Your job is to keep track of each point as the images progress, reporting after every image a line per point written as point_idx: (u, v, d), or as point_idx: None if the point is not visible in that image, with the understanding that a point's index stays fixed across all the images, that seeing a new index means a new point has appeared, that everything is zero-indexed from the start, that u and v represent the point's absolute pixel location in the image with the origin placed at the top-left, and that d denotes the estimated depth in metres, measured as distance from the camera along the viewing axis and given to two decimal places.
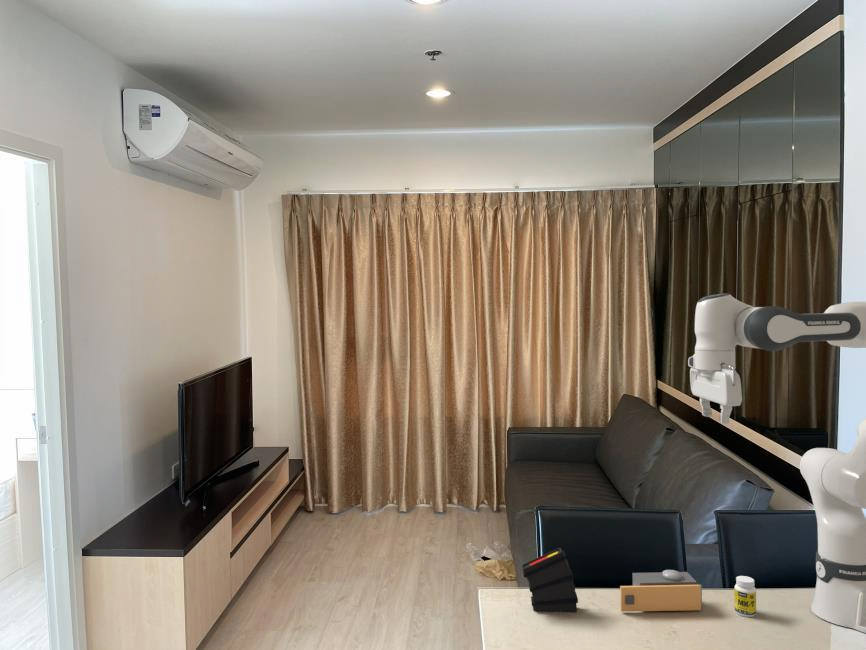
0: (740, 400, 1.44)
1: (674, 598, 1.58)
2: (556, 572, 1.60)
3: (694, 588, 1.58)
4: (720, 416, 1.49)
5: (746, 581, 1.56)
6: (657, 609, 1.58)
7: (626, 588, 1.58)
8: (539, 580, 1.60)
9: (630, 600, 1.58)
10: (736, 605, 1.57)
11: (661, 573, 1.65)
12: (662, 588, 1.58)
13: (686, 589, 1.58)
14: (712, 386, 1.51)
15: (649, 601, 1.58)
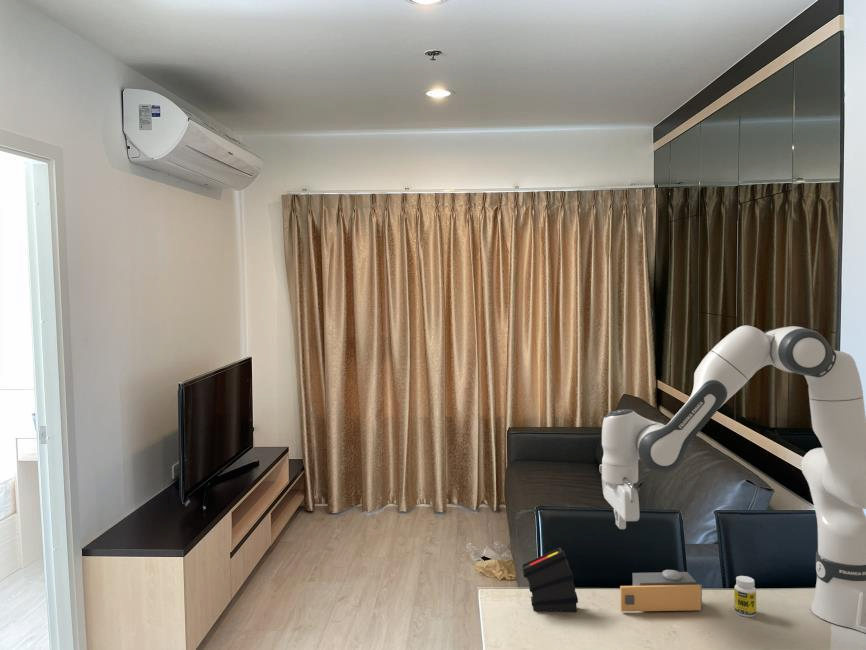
0: (638, 516, 1.54)
1: (674, 598, 1.58)
2: (556, 572, 1.60)
3: (694, 588, 1.58)
4: (618, 522, 1.64)
5: (746, 581, 1.56)
6: (657, 609, 1.58)
7: (626, 588, 1.58)
8: (539, 580, 1.60)
9: (630, 600, 1.58)
10: (736, 605, 1.57)
11: (661, 573, 1.65)
12: (662, 588, 1.58)
13: (686, 589, 1.58)
14: (616, 498, 1.62)
15: (649, 601, 1.58)
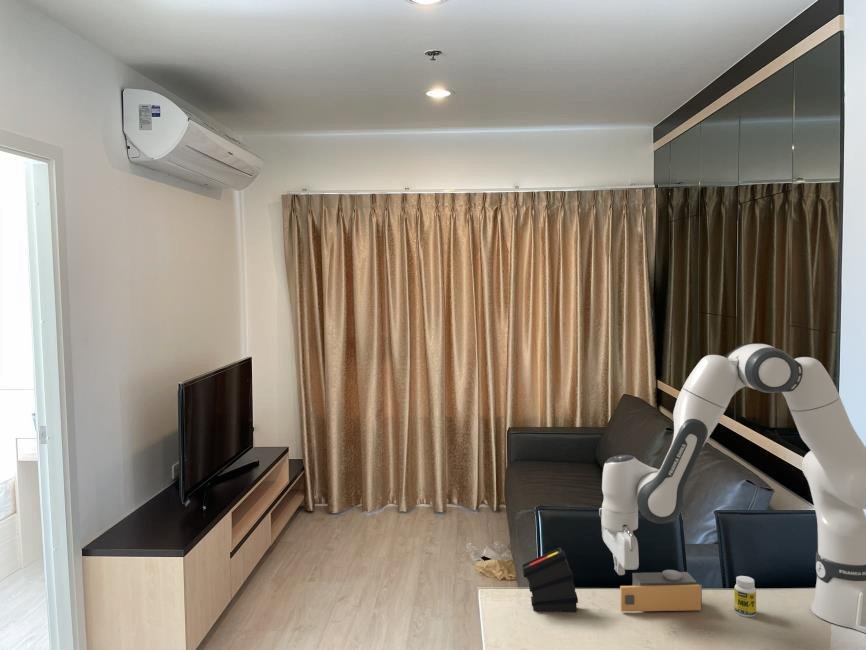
0: (637, 565, 1.55)
1: (674, 598, 1.58)
2: (556, 572, 1.60)
3: (694, 588, 1.58)
4: (617, 568, 1.64)
5: (746, 581, 1.56)
6: (657, 609, 1.58)
7: (626, 588, 1.58)
8: (539, 580, 1.60)
9: (630, 600, 1.58)
10: (736, 605, 1.57)
11: (661, 573, 1.65)
12: (662, 588, 1.58)
13: (686, 589, 1.58)
14: (615, 544, 1.62)
15: (649, 601, 1.58)
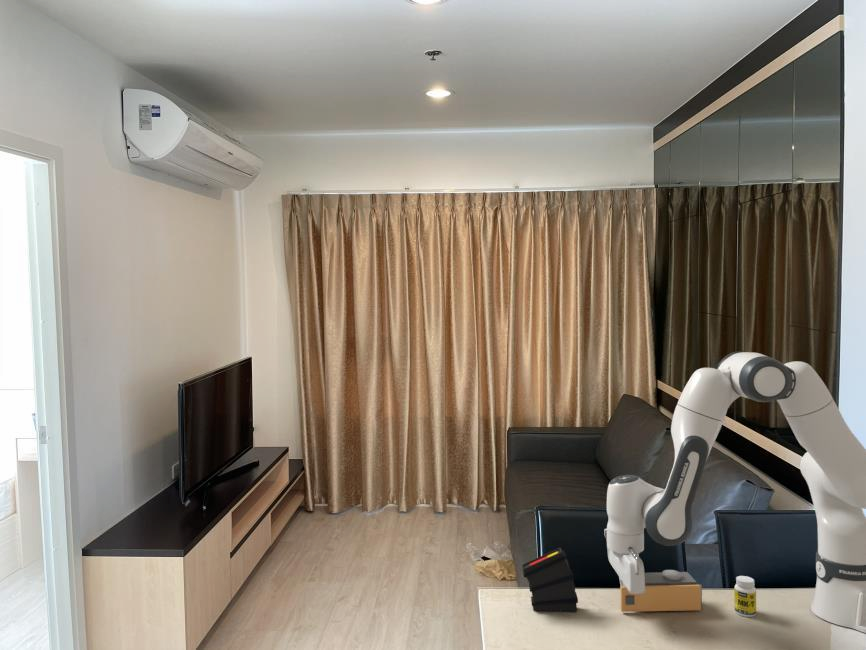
0: (643, 589, 1.51)
1: (674, 598, 1.58)
2: (556, 572, 1.60)
3: (694, 588, 1.58)
4: None
5: (746, 581, 1.56)
6: (657, 609, 1.58)
7: (626, 588, 1.58)
8: (539, 580, 1.60)
9: (630, 600, 1.58)
10: (736, 605, 1.57)
11: (661, 573, 1.65)
12: (662, 588, 1.58)
13: (686, 589, 1.58)
14: (621, 567, 1.58)
15: (649, 601, 1.58)
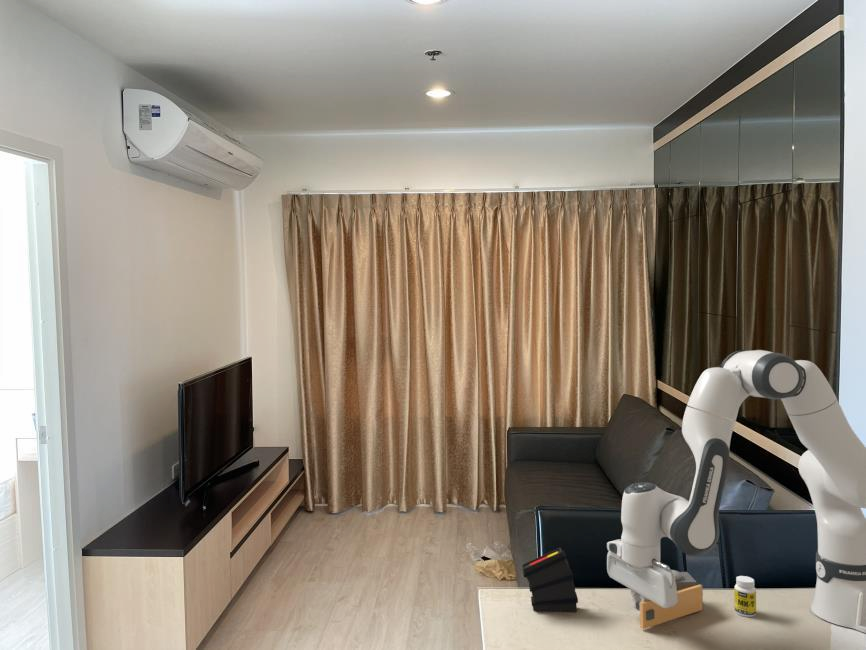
0: (676, 601, 1.44)
1: (683, 603, 1.55)
2: (556, 572, 1.60)
3: (697, 589, 1.58)
4: (639, 605, 1.52)
5: (746, 581, 1.56)
6: (670, 618, 1.54)
7: (647, 603, 1.50)
8: (539, 580, 1.60)
9: (651, 615, 1.50)
10: (736, 605, 1.57)
11: None
12: None
13: (691, 591, 1.57)
14: (642, 581, 1.50)
15: (664, 612, 1.53)
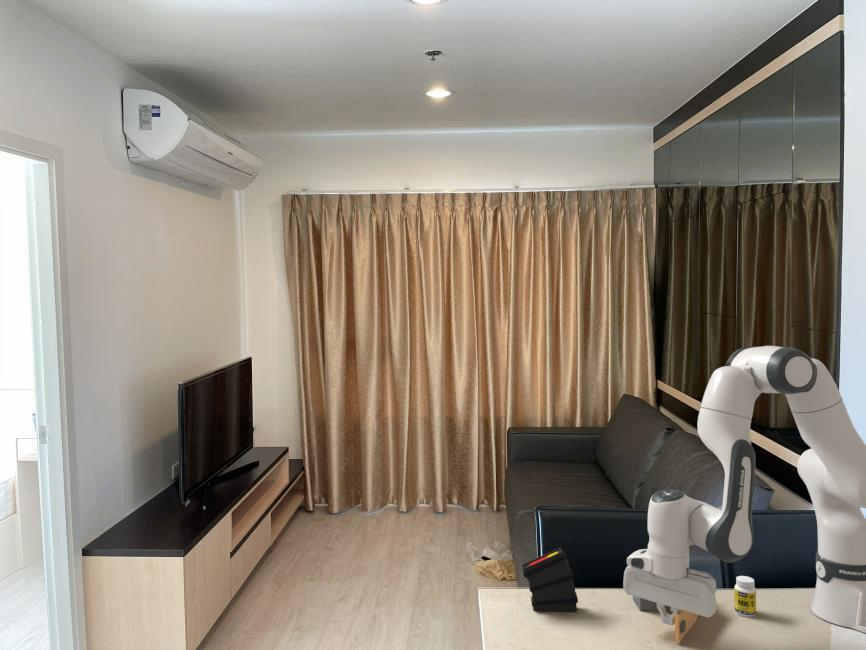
0: (716, 608, 1.41)
1: None
2: (556, 572, 1.60)
3: None
4: (669, 618, 1.45)
5: (746, 581, 1.56)
6: (690, 625, 1.50)
7: (680, 615, 1.44)
8: (539, 580, 1.60)
9: (684, 626, 1.44)
10: (736, 605, 1.57)
11: None
12: None
13: None
14: (677, 593, 1.43)
15: (687, 620, 1.49)
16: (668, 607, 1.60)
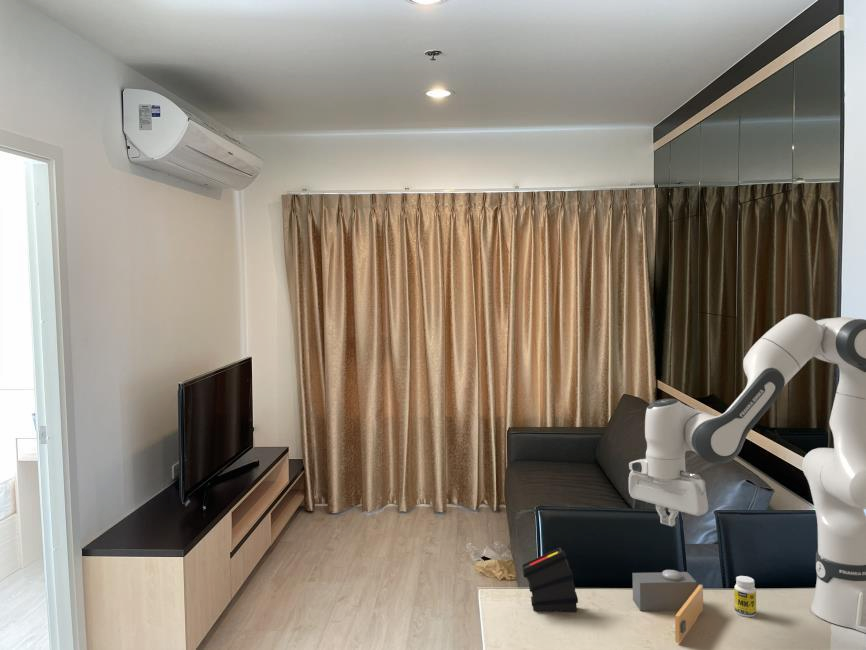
0: (707, 508, 1.47)
1: (695, 607, 1.53)
2: (556, 572, 1.60)
3: (701, 590, 1.57)
4: (668, 519, 1.54)
5: (746, 581, 1.56)
6: (690, 625, 1.50)
7: (680, 615, 1.44)
8: (539, 580, 1.60)
9: (684, 626, 1.44)
10: (736, 605, 1.57)
11: (661, 573, 1.65)
12: (691, 601, 1.51)
13: (698, 593, 1.56)
14: (671, 494, 1.51)
15: (688, 620, 1.49)
16: (668, 607, 1.60)
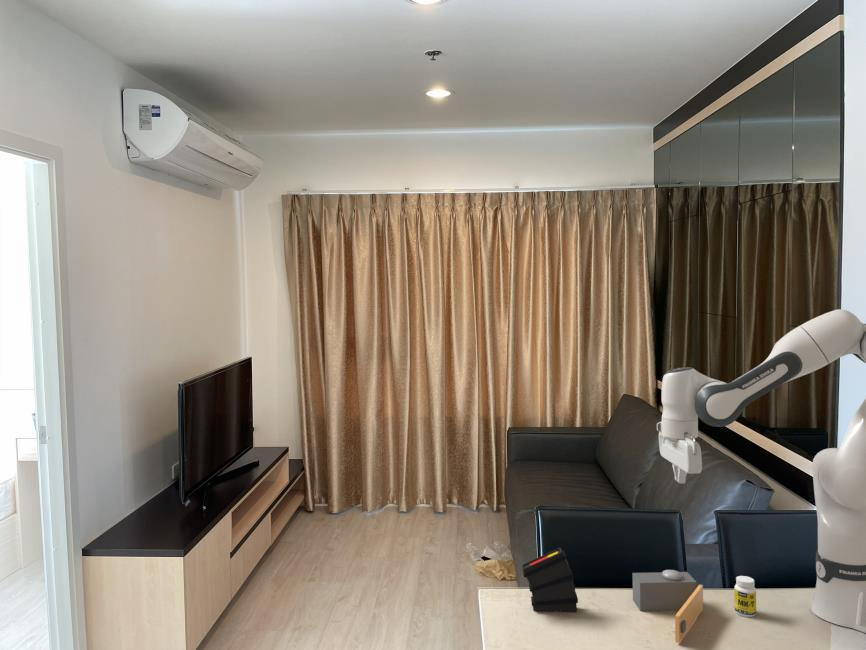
0: (700, 468, 1.59)
1: (695, 607, 1.53)
2: (556, 572, 1.60)
3: (701, 590, 1.57)
4: (677, 476, 1.68)
5: (746, 581, 1.56)
6: (690, 625, 1.50)
7: (680, 615, 1.44)
8: (539, 580, 1.60)
9: (684, 626, 1.44)
10: (736, 605, 1.57)
11: (661, 573, 1.65)
12: (691, 601, 1.51)
13: (698, 593, 1.56)
14: (676, 453, 1.66)
15: (688, 620, 1.49)
16: (668, 607, 1.60)
